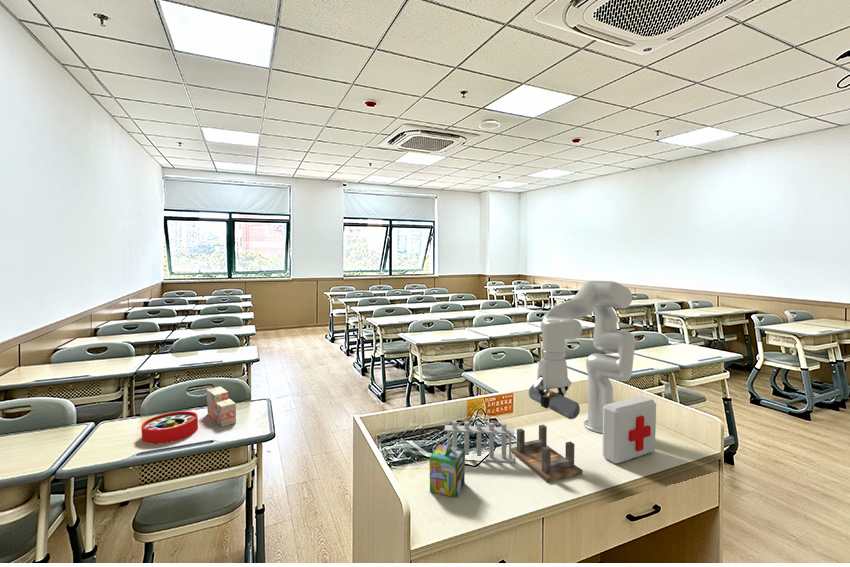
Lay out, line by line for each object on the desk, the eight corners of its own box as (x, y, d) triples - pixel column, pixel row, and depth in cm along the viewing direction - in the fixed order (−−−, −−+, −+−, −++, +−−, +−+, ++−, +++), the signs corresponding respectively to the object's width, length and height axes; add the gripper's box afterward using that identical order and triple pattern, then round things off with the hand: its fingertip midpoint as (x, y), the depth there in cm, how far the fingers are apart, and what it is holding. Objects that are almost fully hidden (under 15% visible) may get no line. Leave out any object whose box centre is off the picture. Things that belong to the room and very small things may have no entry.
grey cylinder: (542, 398, 150) (542, 383, 150) (579, 418, 131) (580, 400, 131) (528, 400, 148) (528, 384, 148) (564, 420, 129) (565, 402, 129)
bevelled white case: (619, 468, 136) (620, 411, 135) (600, 457, 143) (601, 403, 142) (659, 454, 145) (661, 401, 143) (639, 445, 152) (640, 394, 151)
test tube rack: (444, 459, 143) (444, 424, 142) (445, 453, 147) (445, 419, 147) (514, 463, 140) (514, 426, 139) (513, 457, 144) (513, 421, 143)
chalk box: (439, 477, 131) (438, 433, 131) (465, 482, 128) (465, 438, 127) (428, 492, 123) (428, 446, 122) (456, 498, 119) (456, 451, 119)
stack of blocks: (236, 423, 177) (235, 396, 176) (221, 427, 173) (220, 400, 172) (221, 410, 193) (220, 385, 192) (207, 414, 188) (206, 388, 188)
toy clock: (201, 421, 166) (142, 434, 153) (201, 435, 166) (143, 449, 154) (193, 407, 181) (139, 419, 169) (194, 420, 182) (140, 432, 169)
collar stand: (541, 445, 153) (541, 421, 152) (582, 474, 132) (582, 446, 131) (510, 451, 148) (510, 427, 147) (547, 482, 127) (547, 454, 127)
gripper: (566, 351, 145) (565, 399, 146) (526, 355, 139) (525, 405, 140) (580, 356, 138) (579, 406, 139) (539, 360, 132) (538, 413, 133)
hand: (552, 405), depth 140 cm, fingers closed on grey cylinder, 6 cm apart
